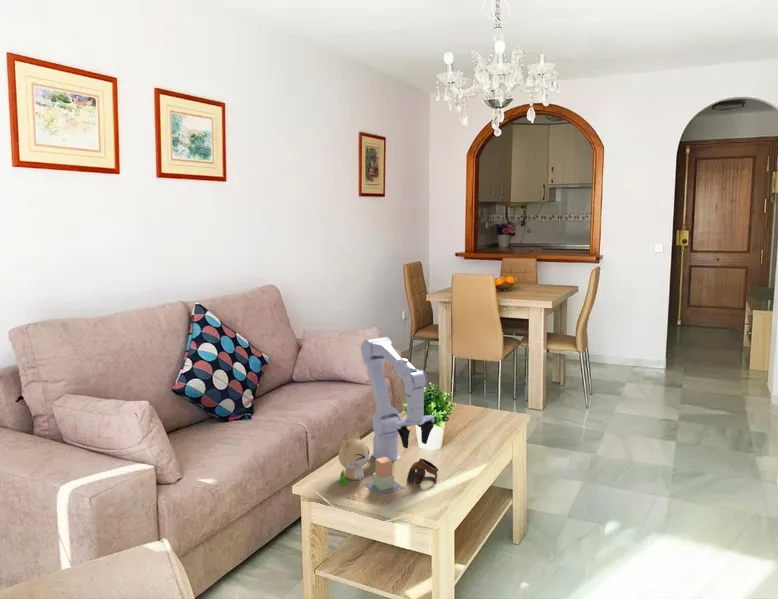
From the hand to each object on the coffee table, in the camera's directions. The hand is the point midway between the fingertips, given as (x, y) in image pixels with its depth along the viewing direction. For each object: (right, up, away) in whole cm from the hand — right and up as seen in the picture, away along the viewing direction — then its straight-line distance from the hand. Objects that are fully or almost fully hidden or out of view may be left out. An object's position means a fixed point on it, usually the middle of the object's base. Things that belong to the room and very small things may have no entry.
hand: (414, 445), depth 220 cm
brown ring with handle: (+2, -12, -4) cm, 12 cm away
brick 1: (-10, -7, -10) cm, 16 cm away
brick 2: (-11, -11, -9) cm, 18 cm away
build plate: (-11, -12, -9) cm, 18 cm away
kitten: (-21, -11, -2) cm, 24 cm away
